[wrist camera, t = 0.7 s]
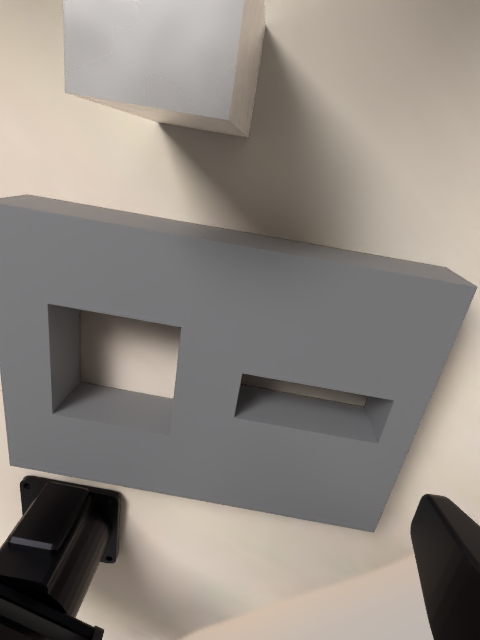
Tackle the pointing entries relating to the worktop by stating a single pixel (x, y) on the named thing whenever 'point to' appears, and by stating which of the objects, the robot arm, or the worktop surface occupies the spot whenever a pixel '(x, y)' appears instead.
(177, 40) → the square peg
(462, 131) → the worktop surface
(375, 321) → the socket board
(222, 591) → the worktop surface
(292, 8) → the worktop surface
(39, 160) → the worktop surface
